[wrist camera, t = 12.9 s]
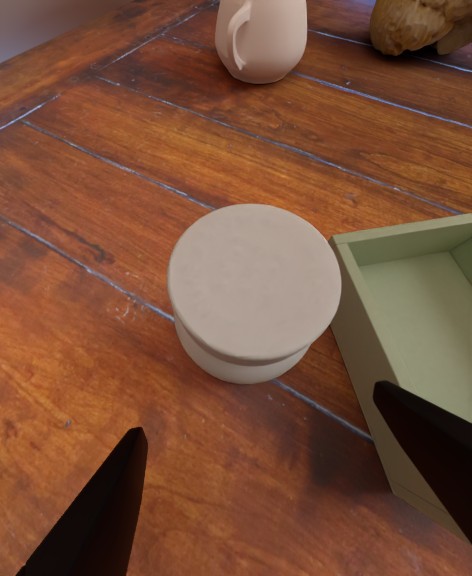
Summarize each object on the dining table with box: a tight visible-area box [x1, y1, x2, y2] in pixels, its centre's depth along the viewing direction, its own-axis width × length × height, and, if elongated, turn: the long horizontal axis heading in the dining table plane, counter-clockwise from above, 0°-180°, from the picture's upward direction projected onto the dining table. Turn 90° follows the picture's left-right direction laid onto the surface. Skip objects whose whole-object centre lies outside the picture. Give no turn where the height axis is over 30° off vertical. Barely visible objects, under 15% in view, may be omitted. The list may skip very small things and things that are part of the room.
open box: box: [328, 213, 472, 546], centre depth 15 cm, size 16×14×5 cm
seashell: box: [369, 0, 472, 56], centre depth 32 cm, size 17×11×15 cm
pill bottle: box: [167, 204, 341, 385], centre depth 12 cm, size 6×6×11 cm
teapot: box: [215, 0, 307, 84], centre depth 28 cm, size 20×12×10 cm, turn 154°
